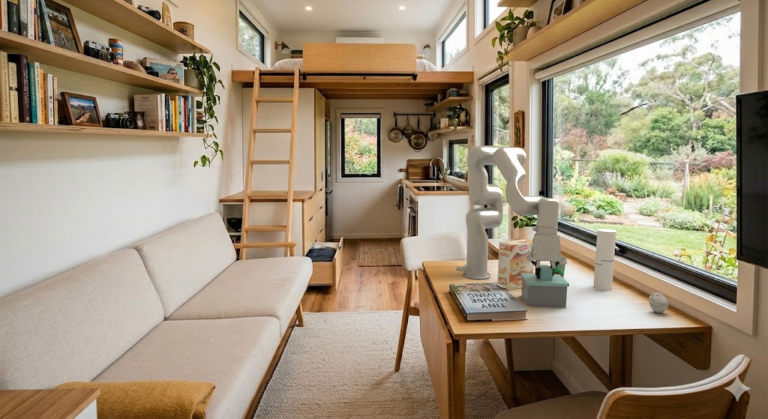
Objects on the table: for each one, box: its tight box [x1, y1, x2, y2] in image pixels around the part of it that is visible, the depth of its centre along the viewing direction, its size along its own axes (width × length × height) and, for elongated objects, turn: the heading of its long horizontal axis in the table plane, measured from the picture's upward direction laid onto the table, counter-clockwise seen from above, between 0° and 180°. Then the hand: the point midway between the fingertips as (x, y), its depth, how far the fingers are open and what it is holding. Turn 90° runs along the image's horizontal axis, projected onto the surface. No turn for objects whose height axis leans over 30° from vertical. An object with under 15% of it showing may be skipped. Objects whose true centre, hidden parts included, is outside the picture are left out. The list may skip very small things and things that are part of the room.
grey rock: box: [648, 292, 670, 314], centre depth 168 cm, size 6×7×7 cm
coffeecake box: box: [496, 238, 535, 291], centre depth 198 cm, size 15×7×20 cm, turn 122°
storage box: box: [521, 278, 568, 308], centre depth 178 cm, size 14×12×8 cm
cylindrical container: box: [593, 228, 617, 292], centre depth 196 cm, size 7×7×25 cm
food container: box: [554, 256, 568, 279], centre depth 210 cm, size 12×6×10 cm, turn 168°
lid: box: [521, 264, 570, 288], centre depth 178 cm, size 15×13×7 cm
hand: (544, 277), depth 178 cm, fingers closed on lid, 4 cm apart
